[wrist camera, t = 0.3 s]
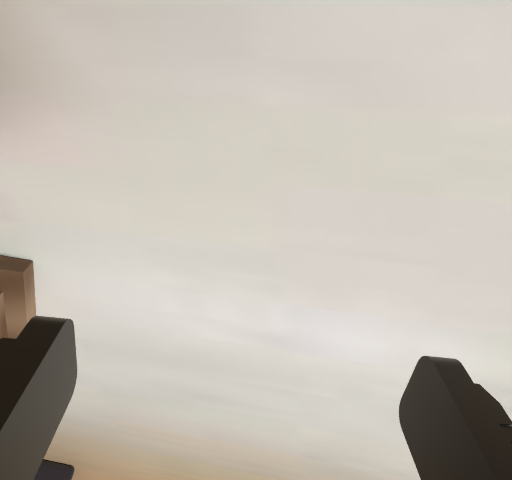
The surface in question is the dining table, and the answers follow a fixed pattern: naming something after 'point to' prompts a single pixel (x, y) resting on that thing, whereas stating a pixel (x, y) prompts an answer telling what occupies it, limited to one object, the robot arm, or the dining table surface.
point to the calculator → (54, 471)
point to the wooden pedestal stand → (16, 295)
